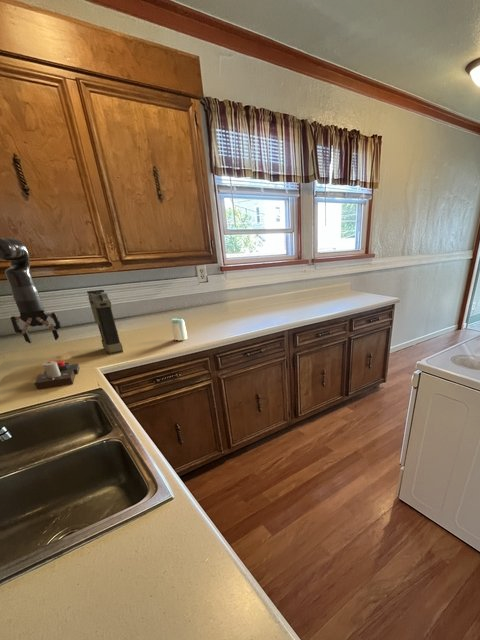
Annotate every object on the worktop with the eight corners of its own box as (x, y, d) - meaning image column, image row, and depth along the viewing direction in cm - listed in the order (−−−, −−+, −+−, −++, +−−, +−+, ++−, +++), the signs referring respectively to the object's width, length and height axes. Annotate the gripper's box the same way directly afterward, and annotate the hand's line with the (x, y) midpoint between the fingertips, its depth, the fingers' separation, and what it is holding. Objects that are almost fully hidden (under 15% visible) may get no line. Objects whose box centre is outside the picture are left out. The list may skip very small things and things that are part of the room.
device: (101, 348, 174) (84, 290, 160) (117, 345, 179) (101, 288, 165) (109, 355, 165) (91, 293, 151) (125, 351, 169) (109, 291, 156)
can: (172, 339, 189) (169, 318, 184) (184, 337, 193) (181, 316, 187) (176, 342, 184) (173, 321, 179) (189, 340, 188) (185, 319, 182)
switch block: (45, 379, 137) (41, 370, 135) (47, 372, 144) (44, 364, 142) (78, 374, 142) (75, 365, 140) (79, 368, 149) (76, 359, 147)
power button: (54, 367, 139) (53, 363, 138) (55, 365, 142) (54, 361, 141) (64, 366, 141) (63, 362, 140) (65, 363, 143) (64, 360, 143)
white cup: (60, 376, 132) (55, 363, 129) (47, 378, 130) (41, 365, 127) (61, 373, 135) (56, 359, 132) (48, 375, 133) (43, 361, 131)
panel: (37, 390, 127) (34, 382, 126) (41, 381, 135) (38, 374, 134) (73, 384, 132) (70, 377, 131) (75, 376, 140) (72, 369, 139)
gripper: (51, 295, 126) (66, 336, 133) (5, 298, 120) (22, 341, 127) (49, 298, 120) (64, 340, 127) (0, 301, 114) (18, 346, 121)
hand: (43, 341), depth 127 cm, fingers open, 8 cm apart
